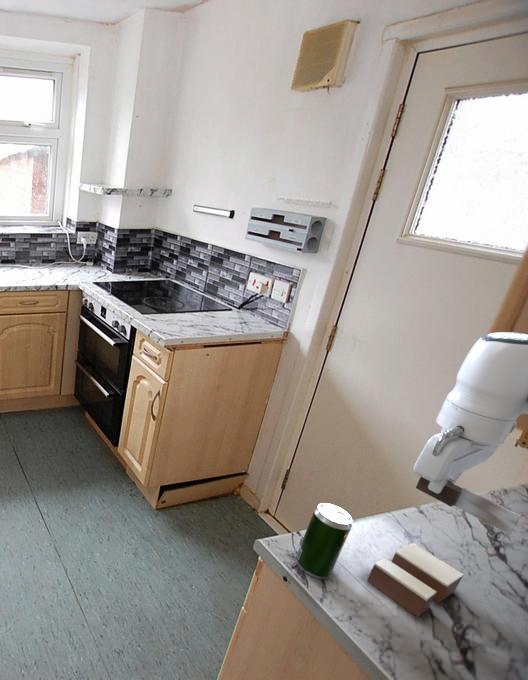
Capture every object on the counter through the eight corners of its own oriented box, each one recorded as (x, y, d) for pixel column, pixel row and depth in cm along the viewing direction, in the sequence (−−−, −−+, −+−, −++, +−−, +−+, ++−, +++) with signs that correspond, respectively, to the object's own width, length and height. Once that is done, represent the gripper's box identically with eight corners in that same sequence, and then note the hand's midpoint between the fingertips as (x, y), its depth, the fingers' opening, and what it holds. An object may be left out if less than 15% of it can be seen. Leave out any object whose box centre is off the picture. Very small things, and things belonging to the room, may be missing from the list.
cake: (453, 592, 78) (463, 574, 77) (437, 603, 76) (447, 585, 74) (404, 559, 84) (412, 542, 83) (387, 568, 82) (396, 551, 81)
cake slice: (426, 609, 74) (437, 591, 73) (417, 617, 73) (427, 598, 71) (376, 574, 80) (384, 557, 79) (366, 580, 79) (374, 562, 78)
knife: (513, 532, 76) (523, 514, 75) (507, 536, 75) (518, 517, 74) (421, 485, 87) (429, 468, 85) (415, 488, 86) (423, 471, 84)
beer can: (297, 573, 79) (320, 518, 75) (292, 551, 84) (313, 498, 80) (333, 585, 77) (358, 529, 73) (326, 561, 82) (348, 508, 78)
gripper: (468, 443, 71) (432, 514, 76) (521, 422, 80) (486, 486, 85) (420, 423, 76) (389, 490, 81) (475, 405, 85) (445, 466, 90)
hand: (439, 488), depth 83 cm, fingers closed on knife, 2 cm apart
